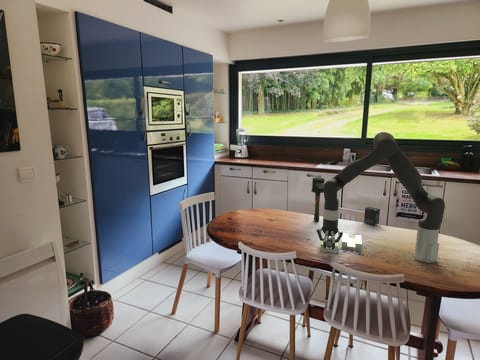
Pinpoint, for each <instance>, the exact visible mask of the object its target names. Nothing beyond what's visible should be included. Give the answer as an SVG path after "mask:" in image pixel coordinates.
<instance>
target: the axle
mask: <svg viewBox="0 0 480 360" xmlns="http://www.w3.org/2000/svg"><path fill="white" fill-rule="evenodd" d="M332 242H333V241H332V237H331V236H327V238H326V247H328V248H331V247H332Z"/></svg>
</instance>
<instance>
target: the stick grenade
mask: <svg viewBox="0 0 480 360" xmlns="http://www.w3.org/2000/svg"><path fill="white" fill-rule="evenodd" d="M325 182H326V181H325V178H324V177H319V176H315V177H312V180H311V190H310V191H311V193H315V194H314V196H315V198H314V200H315V201H314V203H315V204H314V214H313V216H314V217H313V222H317V223H318V222H320V202H321V201H320V200H321V194H324V184H325Z"/></svg>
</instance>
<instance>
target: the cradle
mask: <svg viewBox="0 0 480 360" xmlns="http://www.w3.org/2000/svg"><path fill="white" fill-rule="evenodd" d="M339 242H340V241H339ZM339 242H338V243H337V242H336V243H335V248H334V249H333V250H332V247H331V248H328V247H326V249H324V247H323V241H321V240H320V249H319V251H320V252H325V253H333V254H338V253H339V246H340V245H339Z"/></svg>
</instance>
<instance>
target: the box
mask: <svg viewBox="0 0 480 360" xmlns="http://www.w3.org/2000/svg"><path fill="white" fill-rule="evenodd" d="M380 215H381V209H380V208H378V207H377V208H376V207H373V206H366V207H365V208H364V217H363V218H364V219H363V223H364V224H367V225H371V226H378V225H379V224H380Z"/></svg>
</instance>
